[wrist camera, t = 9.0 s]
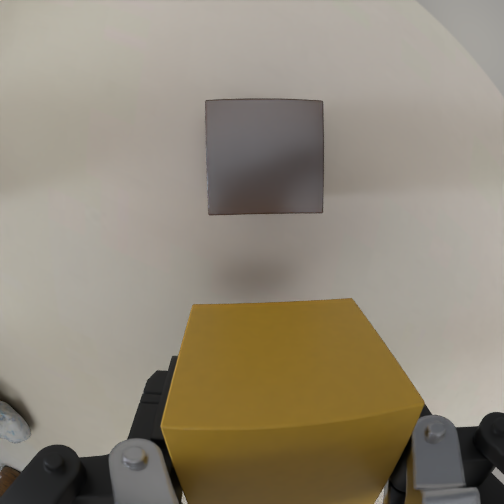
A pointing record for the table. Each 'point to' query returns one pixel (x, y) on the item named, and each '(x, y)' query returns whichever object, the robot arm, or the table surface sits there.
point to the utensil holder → (7, 478)
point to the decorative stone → (12, 425)
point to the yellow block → (286, 405)
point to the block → (264, 156)
